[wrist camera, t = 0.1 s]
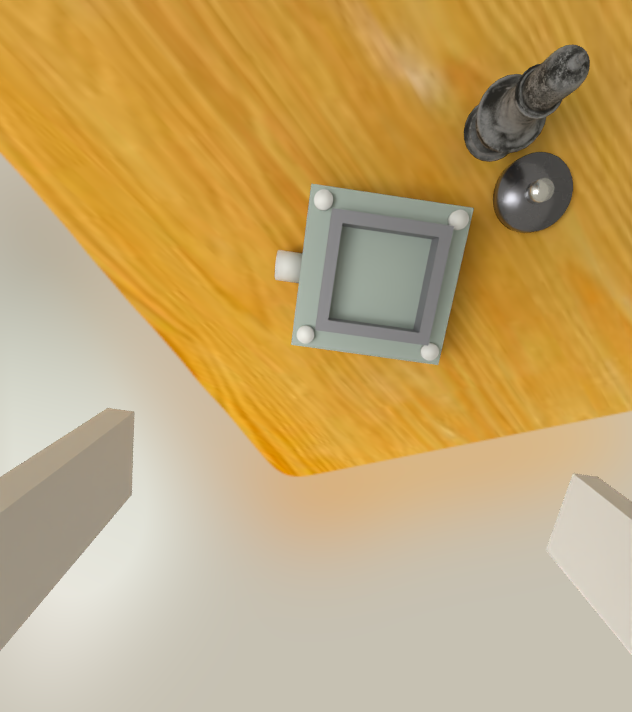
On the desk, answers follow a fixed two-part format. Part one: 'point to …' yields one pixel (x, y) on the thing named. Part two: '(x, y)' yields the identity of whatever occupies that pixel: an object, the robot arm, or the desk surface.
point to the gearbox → (376, 273)
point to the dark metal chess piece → (523, 104)
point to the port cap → (533, 192)
